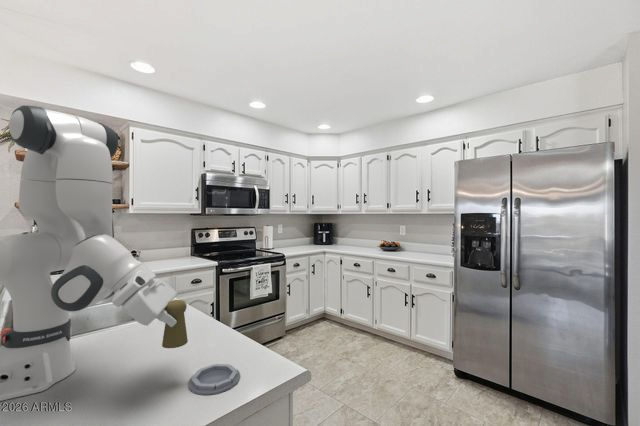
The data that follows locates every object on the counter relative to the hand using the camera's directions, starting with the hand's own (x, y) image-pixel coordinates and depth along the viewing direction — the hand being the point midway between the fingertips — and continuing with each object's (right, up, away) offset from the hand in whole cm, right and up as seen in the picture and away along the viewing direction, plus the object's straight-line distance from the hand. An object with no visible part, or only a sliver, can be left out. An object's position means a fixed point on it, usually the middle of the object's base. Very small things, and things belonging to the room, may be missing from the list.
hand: (177, 320), depth 77 cm
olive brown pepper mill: (-1, -6, 0) cm, 6 cm away
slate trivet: (+9, -17, +2) cm, 19 cm away
